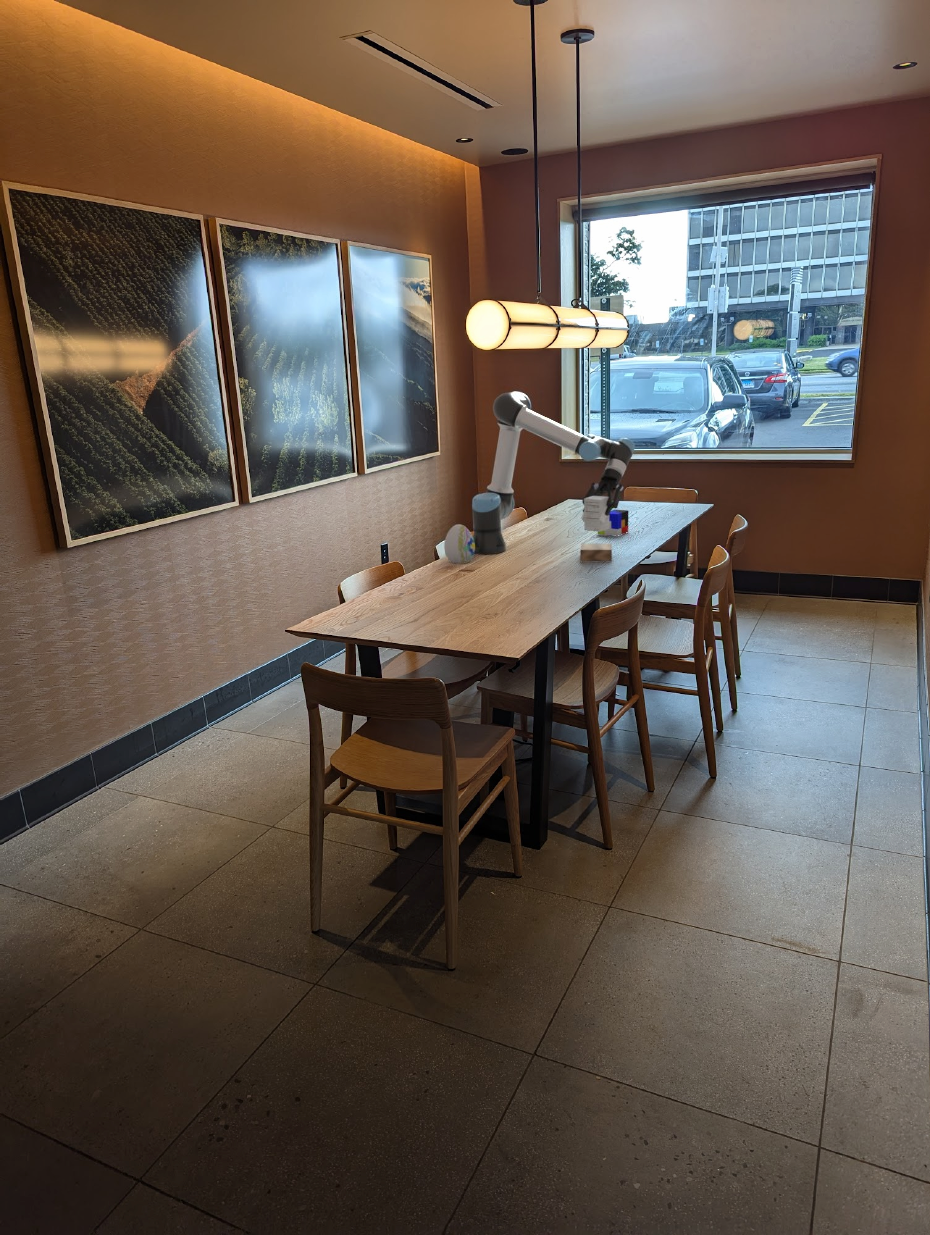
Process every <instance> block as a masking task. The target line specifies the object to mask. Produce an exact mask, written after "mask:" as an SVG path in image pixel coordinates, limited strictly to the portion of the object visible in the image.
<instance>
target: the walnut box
mask: <svg viewBox="0 0 930 1235" xmlns="http://www.w3.org/2000/svg"><path fill="white" fill-rule="evenodd" d="M612 544H613V543H612V542H611V543H610V542H609V543H607V542H605V543H603V542H602V543H601V542H600V543H598V542H596V543H594V542H593V543H592V542H591V543H586V542H585V543H583V542H582V543H581V545H580V553H579V554H580V556H579V557H580V558H579V560H580V563H583V561H613V559H612V558H613V557H612V555H613V554H612V553H613V552H612V551H613V550H612V549H613V545H612ZM581 561H582V562H581Z"/></svg>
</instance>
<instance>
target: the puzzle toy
mask: <svg viewBox="0 0 930 1235" xmlns="http://www.w3.org/2000/svg"><path fill="white" fill-rule="evenodd" d="M626 532H628V533H629V510H625V509H615V508H613V509H611V511H610V513H609V528H608V529H606V530H603V531H601V532H598V531H597V535H598V534H603V535H602V536H607V535H616V536H615V537H619V536H618V535H620V536H622V535H621V534H623V533H625V534H627V533H626ZM623 535H624V534H623Z"/></svg>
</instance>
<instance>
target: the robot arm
mask: <svg viewBox="0 0 930 1235" xmlns="http://www.w3.org/2000/svg"><path fill="white" fill-rule="evenodd" d="M492 411H493V414H494V416H495V418H496V419H497V425H498V426H499V434H498V439H497V440H498V441H497V447H496V452H495V458H494V465H493V470H492V476H491V483H490V484H489V485H487V487H486V490H485V491H486V492H483V493H479V494H476V495H475V496H473V498H472V500H471V501H472V504H471V507H472V524H473V525H472V526H473V527H472V528H473V534H472V536H473V539H474V543H475V552H474V554H477V555H478V554H479V555H491V554H499V553H503V552H505V551H507V544H506V541H505V539H504V536H503V534H502V520H505V519H506V518H507V517H510V515H511V514H512V512H513V511H514V510H515V499H514V492H515V491H514V489H513V487H512V484H513V483H512V482H513V477H514V471H515V467H516V466H515V464H516V458H517V454H518V448H519V441H520V436H521V432H522V430H523V429H524V430H526V431H527V432H529V433H532V434H534V435H536V436H539V437H540V438H543V439H544V440H545V441H548V442H550V443H553V444H554V445H555V444H556V446H560V447H562V448H564V449H565V450H568V451H569V452H571V453H574V454H576V455H577V456H579V457H581V459H582V460H584V461H586V462H590V461H596V460H597V459H598V458H601V459H604V460H605V459H606V460H608V462H607V464H606V466H605V468H604V471H603V473H602V475H601V479H600V480H599V481H598V483H595V482H591V485H590V488H589V489H588V491H587V493H586V494H585V496H584V498H588V497H591V496H604V494H607V497H609V498H608V507H607V506H605V507H604V510H603V512H602V514H601V516H600V518H599V520H600V522H601V523H602V524H603V523H604V521H605V519H606V517H607V516H608V515H609V513H610V511H611V509H615V510H617V509H618V506H619V503H620V498H621V496H622V493H623V491H624V490H625V488H624V486H623V484H622V483H621V481H622V479H623V476H624V474H625V471H626V470H627V467H628V465H629V463H630V460H631V459H632V457H633V454H634V451H635V449H636V444H635V443H634V441H633V440H631V439H630V438H627V437H621V438H619V439H618V440H617V441H615V440H611V439H608V438H605V437H601V436H598V435H596V434H595V435H594V434H588V435H587V436H585V435H583V434H581V433H579V432H577V431H575V430H573V429H571V428H569V427H567V426H565V425H563V424H560V423H558V422H556V421H554V420H552V419H550V418H548V417H545V416H543V415H541V414H539V413H537V412H535V411H533V410H532V403H531V400H530V398H529V397H528V395H526V393H523V392H521V391H511V392H505V393H502V394H500V395H498V396H497V397H496V398H495V399H494V402H493V405H492ZM614 491H615V493H614ZM584 498H583V499H582V501H581V502H582V504H583V505H584ZM580 519H581V520H582V522H583V523H584V508H583V509H582V515H581V516H580Z"/></svg>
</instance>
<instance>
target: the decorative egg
mask: <svg viewBox="0 0 930 1235" xmlns="http://www.w3.org/2000/svg"><path fill="white" fill-rule="evenodd" d="M443 547H444V548H443V549H444V553H445V554H444V555H445V556H446V558H447V560H448V561H449V562H450V563H452V564H467V563H469V562H471V561H472V559H473V557H474V555H475V553H474V552H475V543H474V539H473V534H472V533H471V531H470V530H469V529H468V528H467V527H466V526H465V525H463V524H459V523H458V524H454V525H453V526H451V528H449V530H448V532H447V534H446V535H445V540H444V546H443Z"/></svg>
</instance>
